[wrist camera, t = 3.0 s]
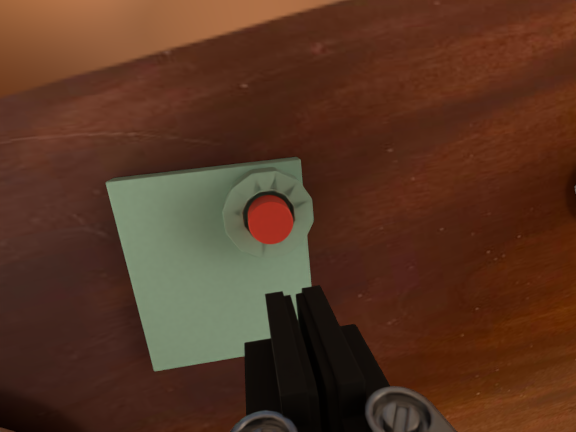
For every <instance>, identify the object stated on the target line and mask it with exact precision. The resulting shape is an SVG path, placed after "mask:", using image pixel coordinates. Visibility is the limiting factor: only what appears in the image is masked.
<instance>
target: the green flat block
mask: <svg viewBox="0 0 576 432" xmlns="http://www.w3.org/2000/svg"><path fill="white" fill-rule="evenodd" d="M106 186H107V190H108V194H109V198H110V202H111V206H112V210H113V213H114V217H115V221H116V225H117V229H118V233H119V237H120V241H121V245H122V248H123V252H124V256H125V260H126V264H127V268H128V272H129V276H130V280H131V283H132V287H133V291H134V295H135V299H136V303H137V307H138V311H139V315H140V318H141V322H142V326H143V330H144V334H145V338H146V342H147V346H148V350H149V353H150V357H151V361H152V365H153V369H154V371H160V370H165V369H171V368H177V367H183V366H189V365H195V364H201V363H207V362H213V361H218V360H224V359H230V358H236V357H242V356H245V353H244V343H245V342H251V341H257V340H263V339H269V338H271V337H270V329H269V322H268V314H267V307H266V299H265V294H267V293H273V292H280V291H283V294H284V296H285V295H291V298H292V302H293V305H294V309H295V312H296V316H297V319H298V315H297V305H296V294H298V293H302V288H305V287H311V276H310V264H309V252H308V241H307V234H308V232H309V230H310V228H311V226H312V224H313V221H314V218H313V205H312V198H311V197H310V195H309V194H308V193H307V191H306V190H305V189H304V187H303V182H302V170H301V160H300V159H299V158H298V157H291V158H282V159H274V160H265V161H256V162H248V163H239V164H230V165H222V166H213V167H205V168H196V169H187V170H179V171H170V172H161V173H153V174H144V175H135V176H127V177H118V178H113V179H111V180H109V181H107V182H106ZM264 195H275V196H277V197H279V198H281V199H282V200H284V202H285V203H286V204H287V206H288V208H289V210H290V212H291V214H292V217H293V228H292V230H291V232H290V234H289V235H288V237H287V238H286V239H284V240H283V241H281V242H279V243H276V244H264V243H261V242H259V241H258V240H256V239H255V238H254V237H253V236H252V234H251V233H250V230H249V226H248V210H249V207H250V205H251V204H252V202H253V201H254V200H256V199H257V198H259V197H261V196H264Z"/></svg>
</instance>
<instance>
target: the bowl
mask: <svg viewBox="0 0 576 432" xmlns="http://www.w3.org/2000/svg"><path fill="white" fill-rule="evenodd" d="M0 432H15V431H11V430H8V429H4V428H1V427H0Z"/></svg>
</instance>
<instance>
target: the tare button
mask: <svg viewBox="0 0 576 432" xmlns="http://www.w3.org/2000/svg"><path fill="white" fill-rule="evenodd" d="M248 226H249V230H250V233H251V234H252V236H253V237H254V238H255V239H256V240H258V241H259V242H261V243H264V244H276V243H279V242H281V241H283V240H284V239H286V238H287V237H288V235H289V234H290V232H291V230H292V228H293V217H292V214H291V212H290V210H289V208H288V206H287V204H286V203H285V202H284V200H282V199H281V198H279V197H277V196H275V195H264V196H261V197H259V198H257V199H256V200H254V201H253V202H252V204H251V205H250V207H249V210H248Z"/></svg>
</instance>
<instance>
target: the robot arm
mask: <svg viewBox="0 0 576 432" xmlns="http://www.w3.org/2000/svg"><path fill="white" fill-rule="evenodd" d="M265 299H266V307H267V314H268V322H269V329H270V337H271V338H269V339H263V340H257V341H251V342H245V343H244V353H245V388H246V417H244V418H243V419H241V420H240V421H239V422H238V423H236V424H235V426H234V427H233V428H232V430H231V431H230V432H457V431H456V430H455V429H454V428H453V426H452V425H451V424H450V423H449V422H448V421H447V420H446V419H445V417H444V416H443V415H442V414H441V413H440V412H439V411H438V409H437V408H436V407H435V406H434V405H433V404H432V403H431V402H430V401H429V400H428V399H427V398H426V397H425V396H423V395H422V394H420V393H418V392H416V391H414V390H412V389H408V388H405V387H396V386H390V385H389V383H388V381H387V380H386V378H385V376H384V374H383V372H382V371H381V369H380V367H379V365H378V364H377V362H376V360H375V358H374V356H373V355H372V353H371V351H370V349H369V347H368V346H367V344H366V342H365V340H364V339H363V337H362V335H361V333H360V331H359V330H358V328H357V326H356V325H354V324H351V325H345V326H339V324H338V322H337V320H336V318H335V316H334V313H333V311H332V309H331V307H330V305H329V303H328V301H327V299H326V297H325V295H324V293H323V291H322V289H321V287H320V285H318V286H312V287H305V288H302V293H298V294H296V305H297V315H298V319H297V316H296V312H295V309H294V305H293V302H292V298H291V295H285V296H284V294H283V291H280V292H273V293H267V294H265Z"/></svg>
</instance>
